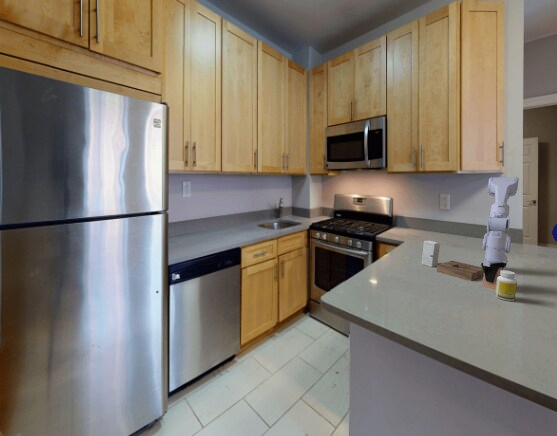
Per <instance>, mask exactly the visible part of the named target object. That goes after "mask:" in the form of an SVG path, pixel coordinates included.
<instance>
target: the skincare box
mask: <svg viewBox="0 0 557 436" xmlns="http://www.w3.org/2000/svg"><path fill="white" fill-rule="evenodd" d="M422 246H423V248H422V256H421V265H425V266H427V267H430V268H431V267H432V268H435V267H437V265H439V264H438V263H439V255H440V254H439V253H440V246H441V243H440V242H437V241H434V240H424V241H423V245H422Z"/></svg>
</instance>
